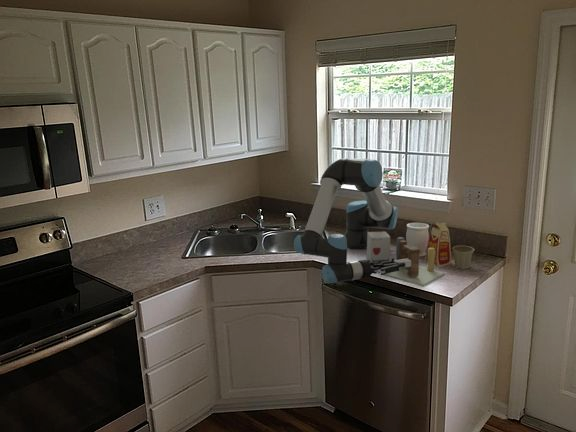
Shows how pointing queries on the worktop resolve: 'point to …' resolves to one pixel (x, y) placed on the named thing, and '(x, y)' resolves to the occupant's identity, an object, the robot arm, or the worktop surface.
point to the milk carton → (440, 245)
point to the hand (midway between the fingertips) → (409, 262)
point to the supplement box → (378, 245)
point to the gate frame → (425, 274)
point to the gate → (410, 258)
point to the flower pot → (462, 256)
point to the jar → (418, 236)
